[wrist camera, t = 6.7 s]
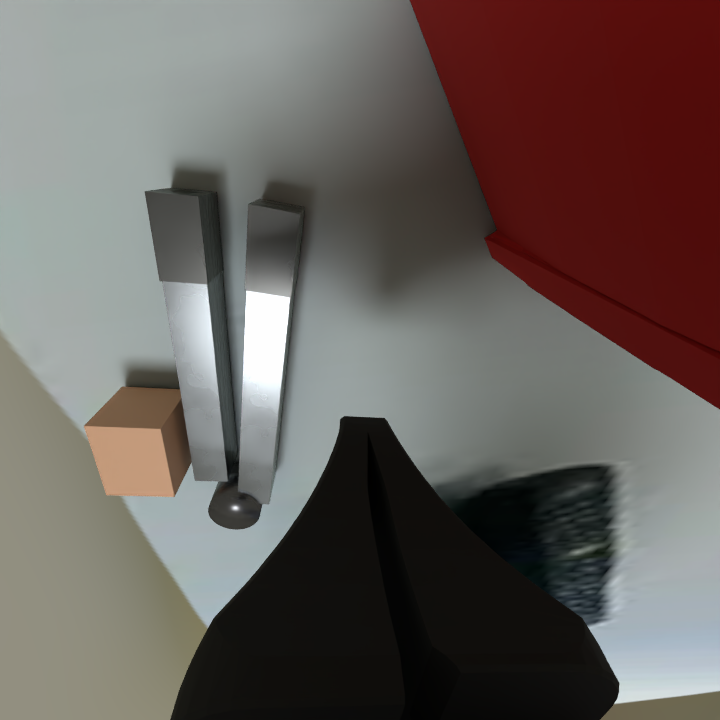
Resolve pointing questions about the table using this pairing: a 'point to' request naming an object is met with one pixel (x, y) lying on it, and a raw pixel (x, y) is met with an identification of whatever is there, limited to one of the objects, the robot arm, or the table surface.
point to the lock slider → (141, 442)
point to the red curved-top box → (598, 160)
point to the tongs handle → (197, 322)
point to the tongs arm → (262, 359)
